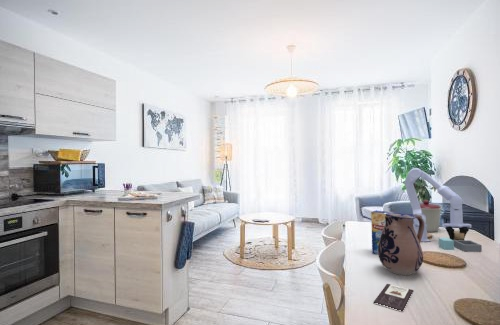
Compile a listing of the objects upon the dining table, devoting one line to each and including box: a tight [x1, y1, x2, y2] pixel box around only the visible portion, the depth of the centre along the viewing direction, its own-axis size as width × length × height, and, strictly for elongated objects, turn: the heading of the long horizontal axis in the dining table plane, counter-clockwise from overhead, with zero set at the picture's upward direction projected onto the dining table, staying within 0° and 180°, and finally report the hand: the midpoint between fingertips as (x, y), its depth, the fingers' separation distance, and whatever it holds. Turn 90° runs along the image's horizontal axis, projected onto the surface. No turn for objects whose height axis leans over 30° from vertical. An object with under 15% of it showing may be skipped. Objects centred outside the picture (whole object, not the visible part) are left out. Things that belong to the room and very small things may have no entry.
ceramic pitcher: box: [378, 212, 424, 276], centre depth 121 cm, size 18×21×25 cm
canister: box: [410, 199, 443, 233], centre depth 189 cm, size 18×18×21 cm
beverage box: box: [370, 210, 398, 255], centre depth 143 cm, size 7×11×22 cm, turn 45°
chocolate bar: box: [373, 283, 414, 312], centre depth 98 cm, size 9×1×18 cm
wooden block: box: [453, 230, 465, 241], centre depth 157 cm, size 5×5×7 cm
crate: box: [454, 239, 483, 253], centre depth 148 cm, size 9×9×4 cm
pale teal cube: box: [438, 237, 455, 251], centre depth 150 cm, size 5×5×5 cm
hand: (456, 239), depth 157 cm, fingers closed on wooden block, 5 cm apart
